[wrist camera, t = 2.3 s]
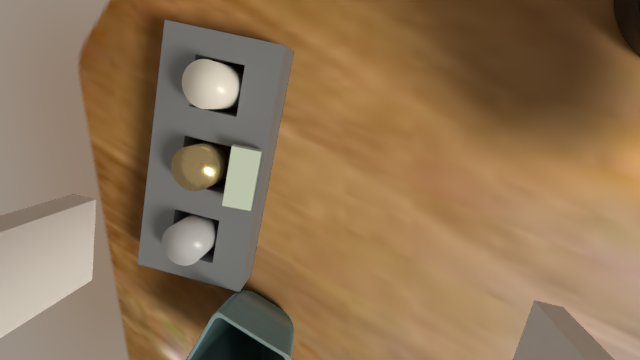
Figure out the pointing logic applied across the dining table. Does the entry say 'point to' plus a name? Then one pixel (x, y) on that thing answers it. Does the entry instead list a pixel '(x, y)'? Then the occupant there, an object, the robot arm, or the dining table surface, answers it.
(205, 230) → the white rounded dome
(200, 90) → the white rounded piece
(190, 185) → the brass button
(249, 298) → the flower pot
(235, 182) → the block
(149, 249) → the console
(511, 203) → the dining table surface
